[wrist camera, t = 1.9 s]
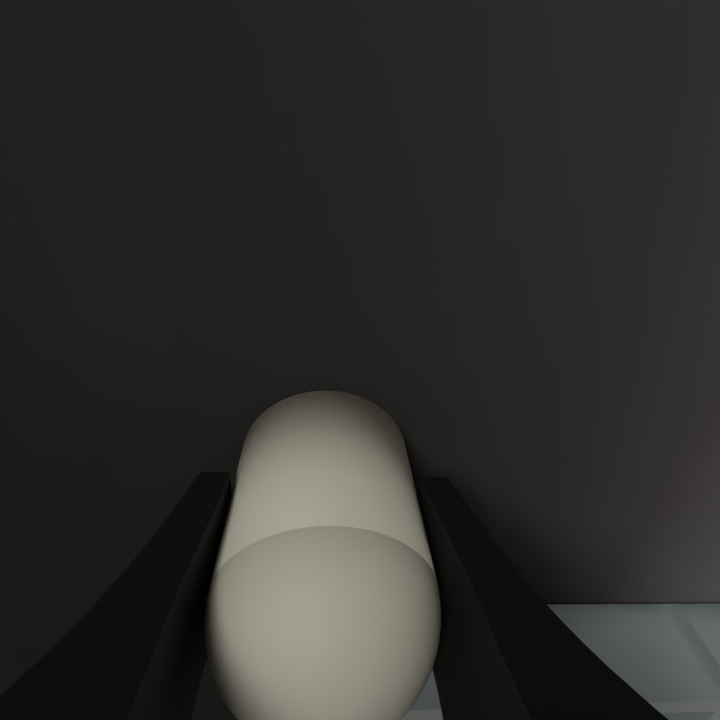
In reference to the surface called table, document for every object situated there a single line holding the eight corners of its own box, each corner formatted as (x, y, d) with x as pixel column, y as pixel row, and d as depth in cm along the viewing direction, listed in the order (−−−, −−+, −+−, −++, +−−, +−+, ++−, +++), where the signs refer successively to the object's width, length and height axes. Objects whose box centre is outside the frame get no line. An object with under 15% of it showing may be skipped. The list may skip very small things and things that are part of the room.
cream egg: (417, 394, 11) (501, 659, 6) (394, 517, 13) (441, 798, 8) (239, 386, 11) (156, 666, 5) (244, 515, 13) (187, 811, 7)
